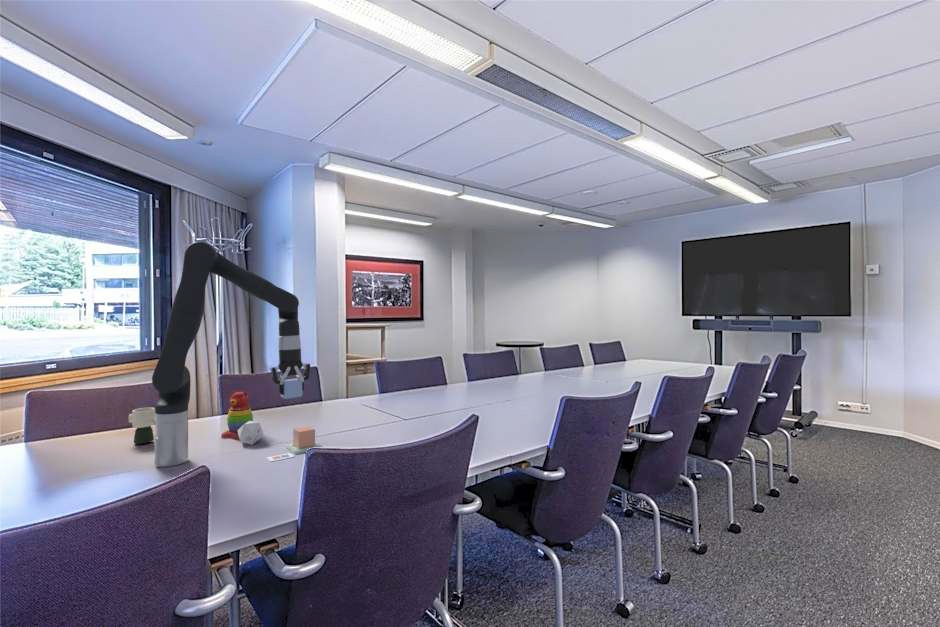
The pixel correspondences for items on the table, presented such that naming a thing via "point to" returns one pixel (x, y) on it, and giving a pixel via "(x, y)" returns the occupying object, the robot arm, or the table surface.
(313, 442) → the brick terracotta
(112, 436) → the table surface
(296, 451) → the baseplate
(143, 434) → the character mug
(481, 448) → the table surface
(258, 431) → the die
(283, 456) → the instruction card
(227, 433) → the stacking bear
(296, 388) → the brick blue
